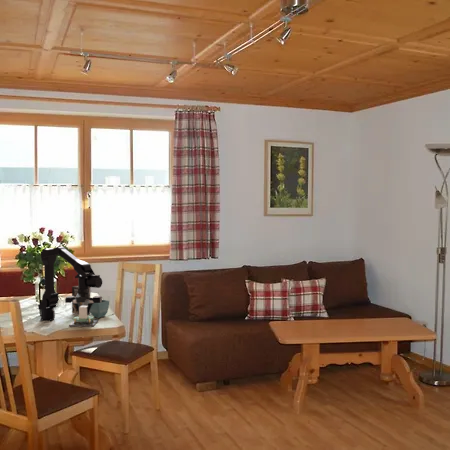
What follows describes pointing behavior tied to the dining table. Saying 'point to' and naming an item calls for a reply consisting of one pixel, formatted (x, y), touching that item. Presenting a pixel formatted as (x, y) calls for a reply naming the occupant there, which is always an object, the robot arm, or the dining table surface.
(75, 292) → the coffee box
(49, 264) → the robot arm
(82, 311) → the block on green base
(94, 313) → the flower pot
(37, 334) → the dining table surface
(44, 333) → the dining table surface
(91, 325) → the chassis
